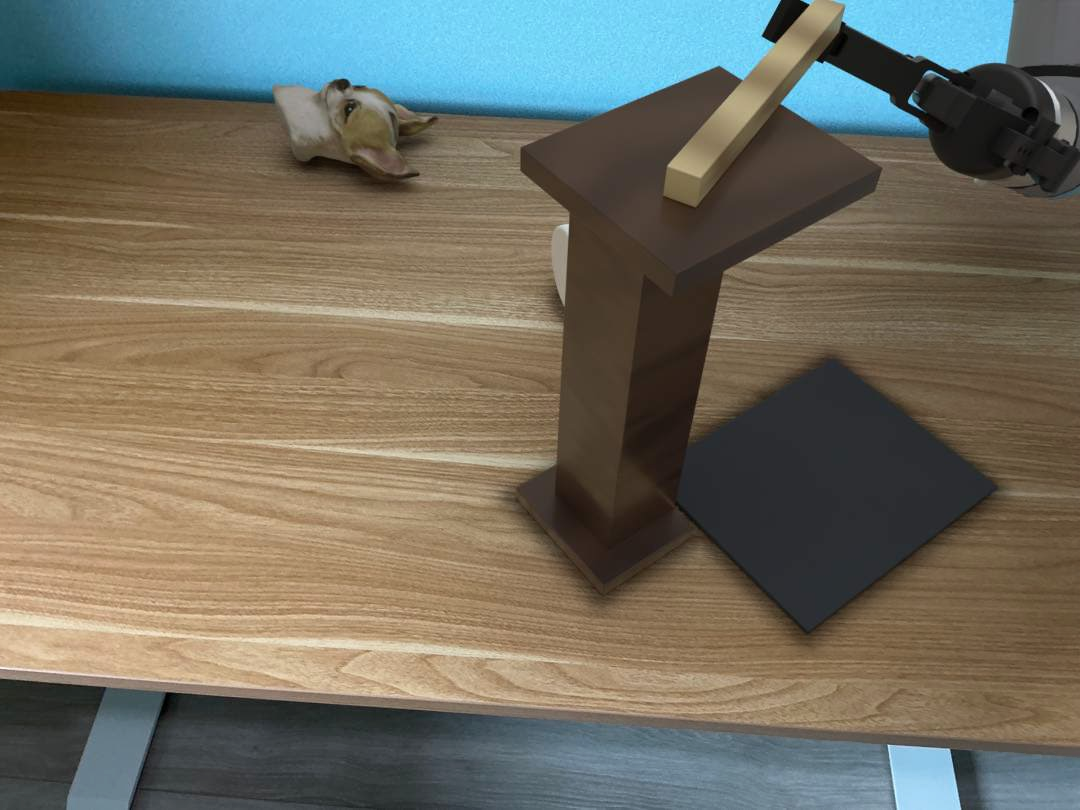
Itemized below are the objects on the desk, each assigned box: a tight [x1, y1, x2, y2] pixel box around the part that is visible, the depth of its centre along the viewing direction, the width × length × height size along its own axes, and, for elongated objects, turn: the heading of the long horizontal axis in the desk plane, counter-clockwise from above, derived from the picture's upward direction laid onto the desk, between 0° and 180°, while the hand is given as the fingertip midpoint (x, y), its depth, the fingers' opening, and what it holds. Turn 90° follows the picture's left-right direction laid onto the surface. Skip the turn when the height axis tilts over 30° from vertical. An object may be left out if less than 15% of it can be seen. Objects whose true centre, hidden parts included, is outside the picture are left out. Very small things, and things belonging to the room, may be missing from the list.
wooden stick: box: [663, 0, 846, 207], centre depth 53 cm, size 20×2×2 cm, turn 149°
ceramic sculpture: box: [271, 78, 440, 181], centre depth 95 cm, size 11×9×15 cm
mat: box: [675, 357, 999, 635], centre depth 73 cm, size 16×20×1 cm
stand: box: [514, 65, 883, 597], centre depth 61 cm, size 12×15×28 cm
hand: (865, 66), depth 55 cm, fingers open, 13 cm apart
